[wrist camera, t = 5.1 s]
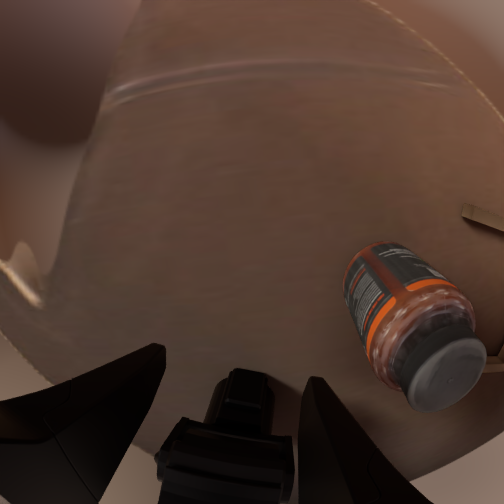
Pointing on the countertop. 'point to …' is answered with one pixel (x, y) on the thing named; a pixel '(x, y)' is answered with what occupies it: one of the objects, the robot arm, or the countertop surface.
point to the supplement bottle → (413, 326)
